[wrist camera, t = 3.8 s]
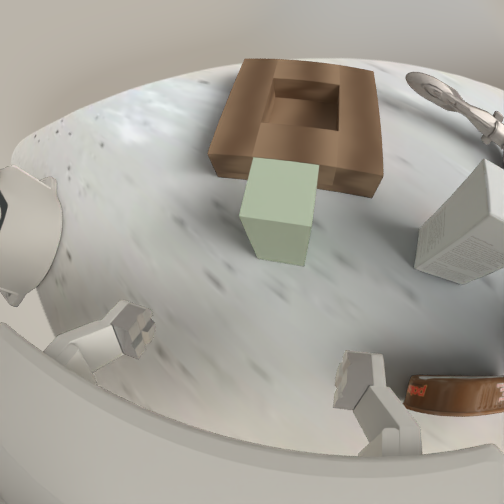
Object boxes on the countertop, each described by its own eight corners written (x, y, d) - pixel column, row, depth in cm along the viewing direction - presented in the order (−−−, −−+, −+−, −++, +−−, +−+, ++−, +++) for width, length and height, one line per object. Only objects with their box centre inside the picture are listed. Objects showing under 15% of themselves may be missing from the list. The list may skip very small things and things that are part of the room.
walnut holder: (218, 176, 27) (207, 153, 23) (249, 82, 31) (244, 58, 27) (372, 198, 24) (383, 175, 20) (368, 95, 28) (373, 71, 24)
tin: (387, 400, 19) (430, 428, 11) (396, 365, 20) (445, 378, 12) (501, 398, 16) (552, 407, 8) (507, 369, 17) (560, 371, 9)
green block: (257, 258, 24) (238, 216, 15) (266, 216, 25) (253, 157, 16) (304, 266, 23) (311, 226, 15) (310, 222, 24) (319, 165, 16)
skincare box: (465, 245, 21) (540, 191, 10) (461, 286, 20) (547, 249, 9) (417, 226, 23) (483, 154, 11) (410, 269, 22) (489, 216, 10)
